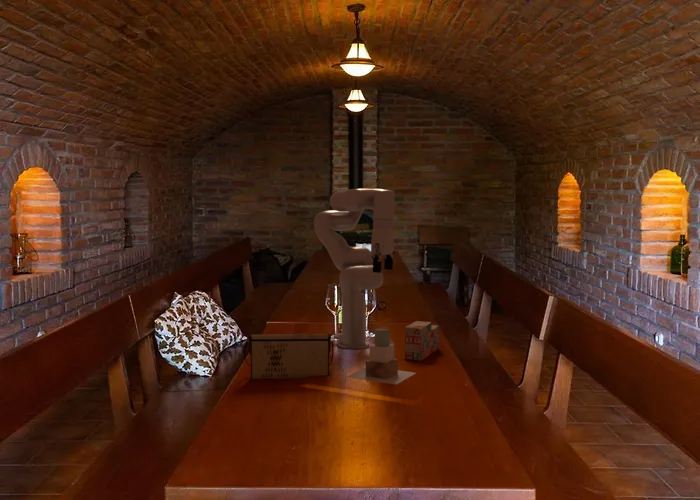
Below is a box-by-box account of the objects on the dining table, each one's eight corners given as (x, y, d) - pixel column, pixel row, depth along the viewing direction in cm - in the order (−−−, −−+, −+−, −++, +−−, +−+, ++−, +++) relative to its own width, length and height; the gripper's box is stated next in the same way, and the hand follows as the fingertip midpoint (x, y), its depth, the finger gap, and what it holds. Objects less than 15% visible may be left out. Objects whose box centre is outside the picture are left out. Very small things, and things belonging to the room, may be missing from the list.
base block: (365, 376, 243) (365, 361, 242) (376, 370, 250) (376, 356, 249) (387, 379, 239) (387, 364, 238) (397, 373, 246) (397, 358, 246)
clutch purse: (333, 373, 250) (333, 330, 248) (334, 379, 243) (334, 334, 242) (244, 374, 248) (244, 330, 246) (243, 380, 241) (243, 335, 239)
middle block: (369, 360, 243) (369, 345, 242) (377, 357, 248) (377, 342, 247) (386, 363, 240) (386, 348, 239) (393, 359, 245) (394, 344, 245)
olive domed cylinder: (371, 345, 242) (372, 330, 242) (378, 342, 247) (378, 328, 246) (385, 347, 240) (385, 332, 240) (392, 344, 244) (392, 329, 244)
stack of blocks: (423, 347, 290) (424, 316, 289) (438, 349, 288) (439, 317, 286) (404, 359, 271) (405, 326, 270) (420, 361, 268) (421, 327, 267)
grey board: (346, 380, 242) (346, 376, 242) (368, 369, 256) (368, 366, 256) (396, 388, 233) (396, 384, 233) (416, 376, 247) (416, 372, 247)
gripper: (384, 222, 277) (383, 267, 278) (363, 224, 261) (362, 272, 263) (402, 223, 273) (401, 269, 275) (382, 225, 258) (381, 274, 260)
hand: (382, 270), depth 269 cm, fingers open, 9 cm apart
